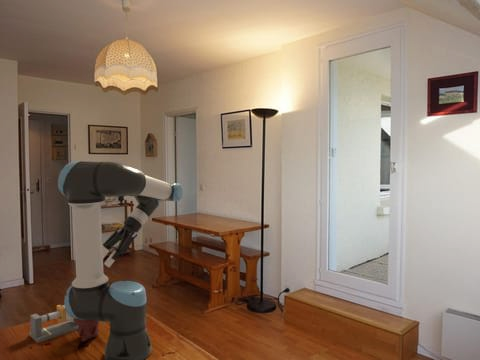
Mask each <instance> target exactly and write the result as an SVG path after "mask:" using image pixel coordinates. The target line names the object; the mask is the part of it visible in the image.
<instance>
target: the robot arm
mask: <svg viewBox="0 0 480 360" xmlns="http://www.w3.org/2000/svg"><path fill="white" fill-rule="evenodd" d="M57 182H58V183H57V187H58V190H59V192H60V193H61V195H63V196H65V197H67V198H66V199H67V204H68V205H69V207H72V215H73V219H72V220H73V234H74V235H73V236H74V239H73V240H74V254H75V256H74V257H75V275H76V276H75V278H74V279H73V281H71V285H70V286H69V288H68V289H67V290H66V292H65V293H66V295H65V296H64V305H65V309H66V312H67V313H68V315H69V316H70V317H72V318H75V319H80V320H90V321H99V323H100V322H103V323H108V324H109V335H108V338H107V342H106V344H105V348H104V360H146V359H147V358H148V357H149V356H150V355H151V353H152V342H151V338H150V335H149V333H148V329H147V302H148V301H147V293H146V288H145V286H144V285H142V284H141V283H139V282H136V281H133V280H125V281H123V280H120V281H115V282H113V283H111V285H110V284H109V277H108V276H107V275H106V274H105V273H104V265H105V266H106V267H108V268H111V266H112V265H113V264H114V262H116V260H117V258H119V257H120V255H122V254H123V255H124V254H126V253H127V251H128V249H130V248H129V247H130V246H131V244H132V243H133V241H134V240H135V239H136V238H137V236H138V234H137V233H139V231H140V230H141V229H142V227H143V226H144V225H145V223H146V222H147V221H148V220H149V218H150V217H151V215H152V214H154V212H155V210H156V209H157V208H158V207H159V206H160V204H161V202H162V201H163V202H164V201H166V202H168V201H169V202H178V201H181V199H182V198H183V193H184V191H183V185H182V184H181V183H175V182H174V183H171V182H166V181H164V180H160V179H157V178H154V177H151V176H149V175H145V174H144V172H143V171H141V170H140V169H138V168H135V167H132V166H130V165H126V164H123V163H120V162H116V161H115V162H114V161H83V160H79V161H71V162H69V163H67V164H65V166H64V167H63V168H62V169H61V170H60V172H59V175H58V181H57ZM115 197H133V198H134V199H135V200H136V202H137V205H136V207H134V209H132V211H131V212H130V214H129V216H127V218H125V220H124V221H123V225H124V226H123V227H121V228H120V227H117V228H116V229H115V230H114V232H113V233H112V234H111V235H110V236H109V237H108V238H107V239H106V240H105V241H104V242H103V233H102V232H103V231H102V209H101V206H102V205H103V204H104V203H105V202H106V198H115ZM117 243H119V244H118V246H117V248H115V249H114V250H113V251H112V252H111V254H110V255H109V257H107V259H106V260H105V262H104V258H106V256H108V255H107V254H108V253H109V252H110V251H111V249H112V248H113V247H114V246H115V245H117Z"/></svg>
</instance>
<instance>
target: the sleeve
mask: <svg viewBox="0 0 480 360" xmlns="http://www.w3.org/2000/svg"><path fill="white" fill-rule="evenodd" d="M61 306H63V307H64V308H65V304H63V305H61ZM65 317H66V321H69V320H70V321H72V322H73V323H74V318H72V317H70V316H69V315H68V313H67V312H66V309H65Z"/></svg>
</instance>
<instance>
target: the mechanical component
mask: <svg viewBox="0 0 480 360" xmlns="http://www.w3.org/2000/svg"><path fill="white" fill-rule="evenodd" d="M74 323H75V324H77V325H78V328H79V329H78V331H77V335H78V336H79V337H80V338H81V341H82V342H86V341H88V340H90V339H93V338H97V337H99V333H100V332H99V324H100V321H90V320H80V319H75V318H74Z"/></svg>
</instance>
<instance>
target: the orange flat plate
mask: <svg viewBox="0 0 480 360" xmlns="http://www.w3.org/2000/svg"><path fill="white" fill-rule="evenodd" d="M57 311H61V317H59V318H56V320H58V321H59V322H60V323H63V322H66V321H67V320H66V317H65V308H64V307H63V306H62V305H61V304H58V305H56V312H57Z"/></svg>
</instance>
